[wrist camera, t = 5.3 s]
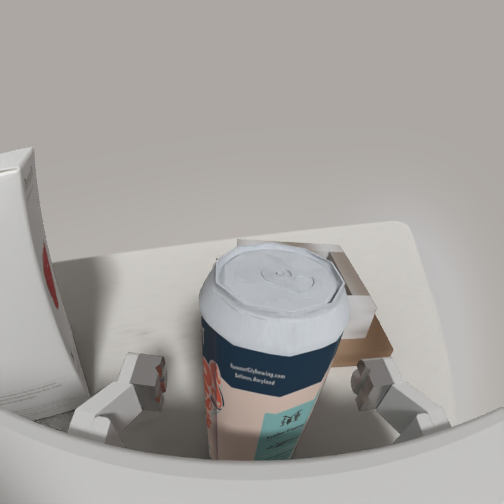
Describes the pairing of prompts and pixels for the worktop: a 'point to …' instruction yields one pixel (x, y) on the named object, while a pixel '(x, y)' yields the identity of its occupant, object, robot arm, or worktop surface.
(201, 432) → the worktop surface
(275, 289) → the beer can
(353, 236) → the worktop surface
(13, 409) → the supplement box
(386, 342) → the socket base
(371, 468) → the robot arm
